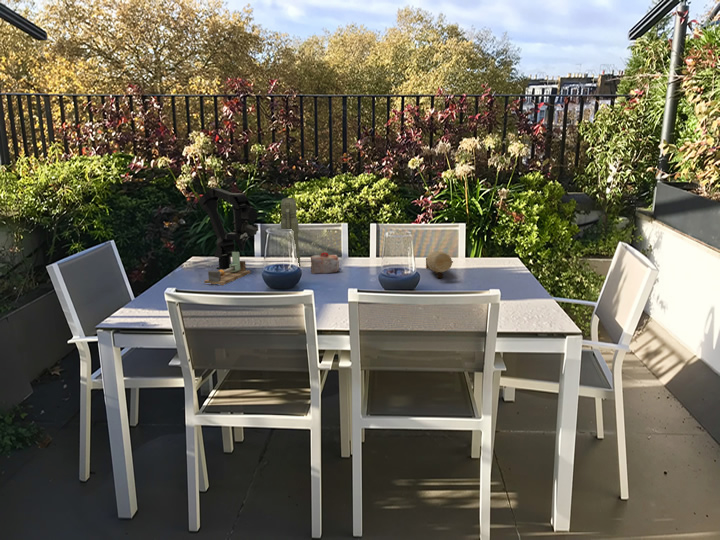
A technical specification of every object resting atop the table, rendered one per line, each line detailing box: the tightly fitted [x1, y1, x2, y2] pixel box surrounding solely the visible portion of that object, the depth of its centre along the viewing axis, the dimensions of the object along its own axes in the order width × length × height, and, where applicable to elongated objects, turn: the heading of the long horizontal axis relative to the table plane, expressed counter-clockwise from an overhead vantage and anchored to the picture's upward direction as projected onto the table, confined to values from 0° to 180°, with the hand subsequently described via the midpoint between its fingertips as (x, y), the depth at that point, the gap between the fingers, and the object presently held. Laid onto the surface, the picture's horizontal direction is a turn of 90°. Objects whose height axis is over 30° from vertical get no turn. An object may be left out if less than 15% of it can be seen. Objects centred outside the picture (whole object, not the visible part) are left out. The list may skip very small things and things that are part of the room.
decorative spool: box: [425, 251, 454, 279], centre depth 283 cm, size 10×12×30 cm
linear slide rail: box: [204, 260, 251, 286], centre depth 287 cm, size 24×10×6 cm, turn 159°
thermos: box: [280, 197, 301, 267], centre depth 306 cm, size 9×12×35 cm
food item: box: [310, 251, 340, 275], centre depth 295 cm, size 14×8×10 cm, turn 98°
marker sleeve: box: [230, 251, 241, 272], centre depth 292 cm, size 4×3×9 cm
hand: (242, 250), depth 298 cm, fingers closed
